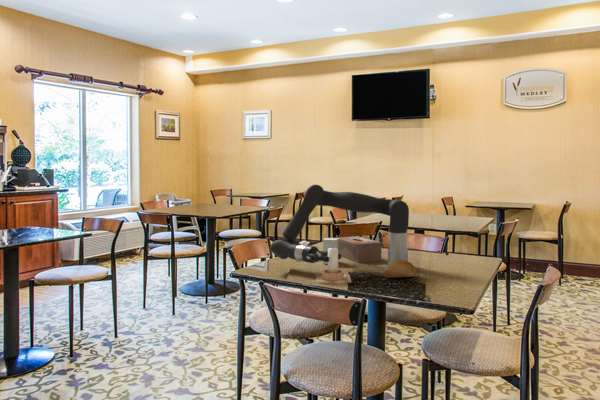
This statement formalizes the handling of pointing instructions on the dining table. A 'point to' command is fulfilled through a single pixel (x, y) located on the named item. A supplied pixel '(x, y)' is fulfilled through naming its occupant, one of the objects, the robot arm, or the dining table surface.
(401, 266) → the bread roll
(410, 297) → the dining table surface
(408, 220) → the robot arm
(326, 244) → the supplement box
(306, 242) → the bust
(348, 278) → the birch board
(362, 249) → the tissue box cover
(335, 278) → the terracotta dish
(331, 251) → the cream candle
